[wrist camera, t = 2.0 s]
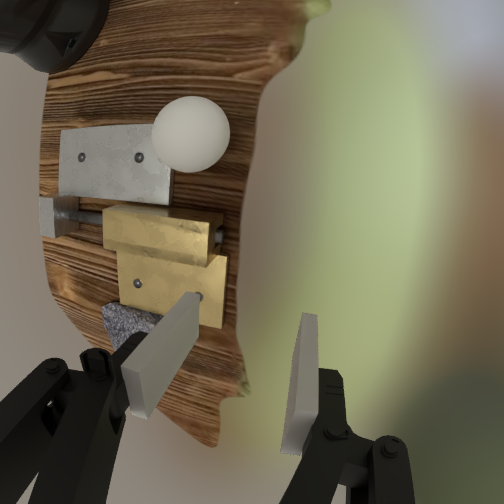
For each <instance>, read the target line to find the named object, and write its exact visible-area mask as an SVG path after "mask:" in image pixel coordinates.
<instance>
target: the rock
mask: <svg viewBox="0 0 504 504" xmlns="http://www.w3.org/2000/svg"><path fill="white" fill-rule="evenodd" d="M102 315H103V323H104V327H105V329H107V331H108V334H109V338H110V340H111V343H112V345H113V348H114V350H115V351H116V350H117V349H118V348H120V346H121V345H122V344H123V343H125V341H126V339H127V338H128V337H129V336H130V335H132V334H134V333H136V332H138V331H143V332H146V333H150V332H151V330H152V329H153V328H154V327H155V326H156V325H157V324H158V323H159V321H160V320H161V319H162V318H163V317H164V316H163V315H160V314H156V313H152V312H148V311H144V310H141V309H137V308H133V307H130V306H127V307H126V306H124V305H123V304H120V302H113V303H109V304H107V305H106V306H103V307H102Z"/></svg>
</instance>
